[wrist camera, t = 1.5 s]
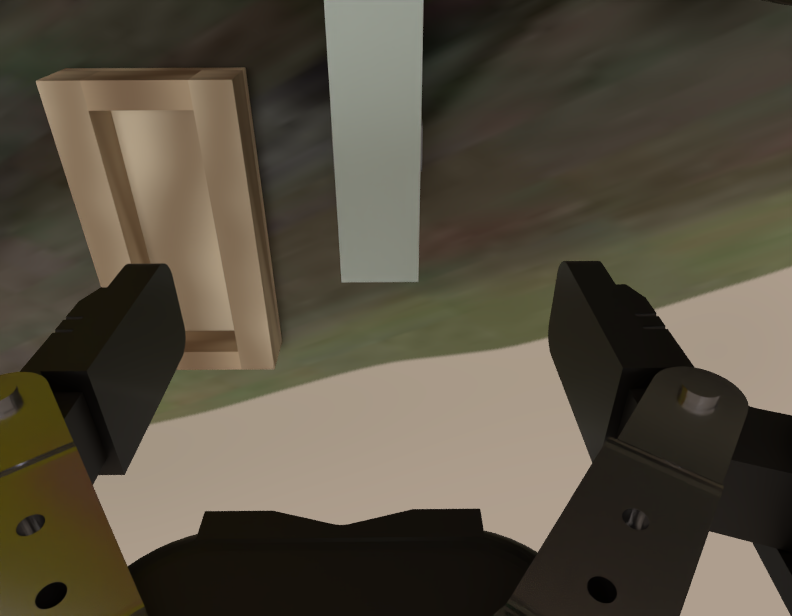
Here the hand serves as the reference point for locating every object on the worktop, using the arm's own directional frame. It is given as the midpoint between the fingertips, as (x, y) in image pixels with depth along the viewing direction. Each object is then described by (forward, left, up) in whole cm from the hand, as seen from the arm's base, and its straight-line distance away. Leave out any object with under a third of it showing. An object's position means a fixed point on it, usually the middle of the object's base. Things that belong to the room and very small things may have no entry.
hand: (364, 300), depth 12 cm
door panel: (0, 0, -18) cm, 18 cm away
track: (+10, +6, -17) cm, 21 cm away
